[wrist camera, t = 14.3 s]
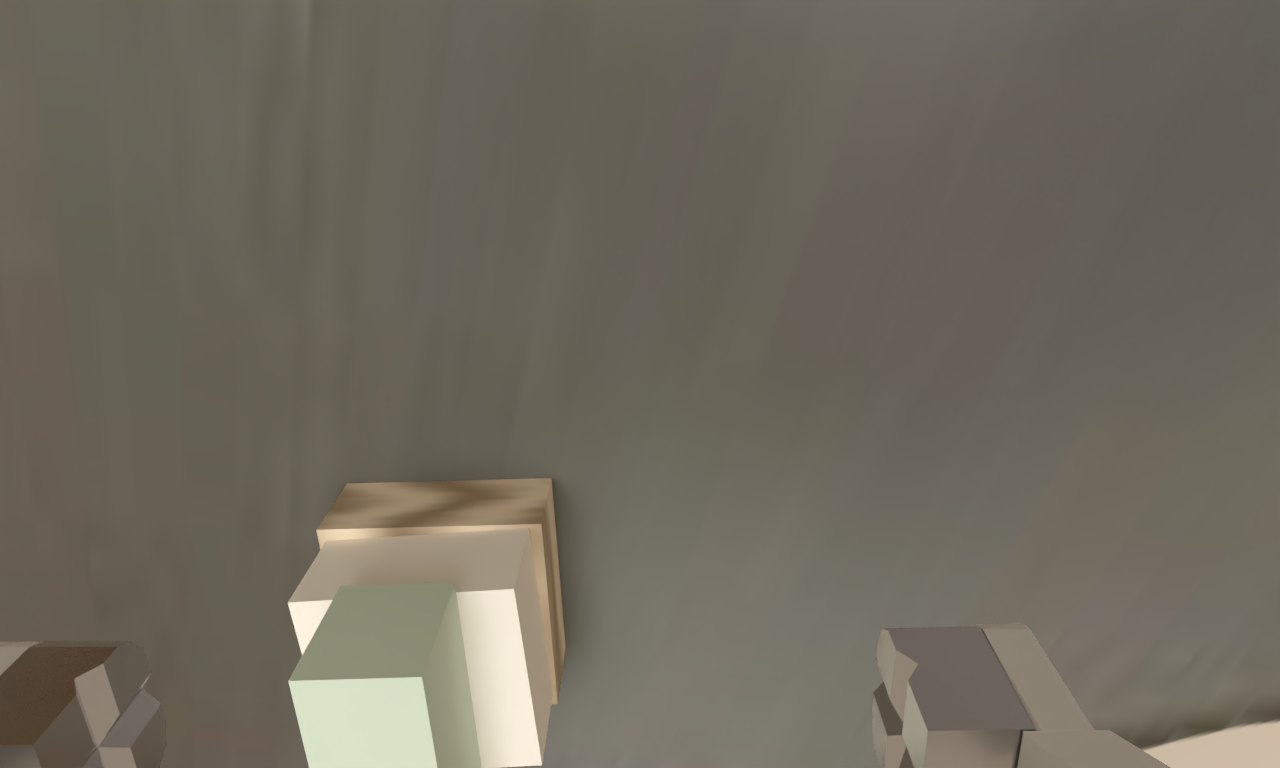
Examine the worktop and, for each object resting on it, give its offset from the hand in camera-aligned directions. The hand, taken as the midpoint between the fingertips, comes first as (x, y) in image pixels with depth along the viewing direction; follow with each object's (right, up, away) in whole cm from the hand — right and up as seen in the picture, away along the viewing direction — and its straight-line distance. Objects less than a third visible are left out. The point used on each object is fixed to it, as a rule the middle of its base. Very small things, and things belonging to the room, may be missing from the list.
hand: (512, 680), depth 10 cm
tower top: (-9, -9, +35) cm, 38 cm away
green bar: (-9, -10, +31) cm, 34 cm away
